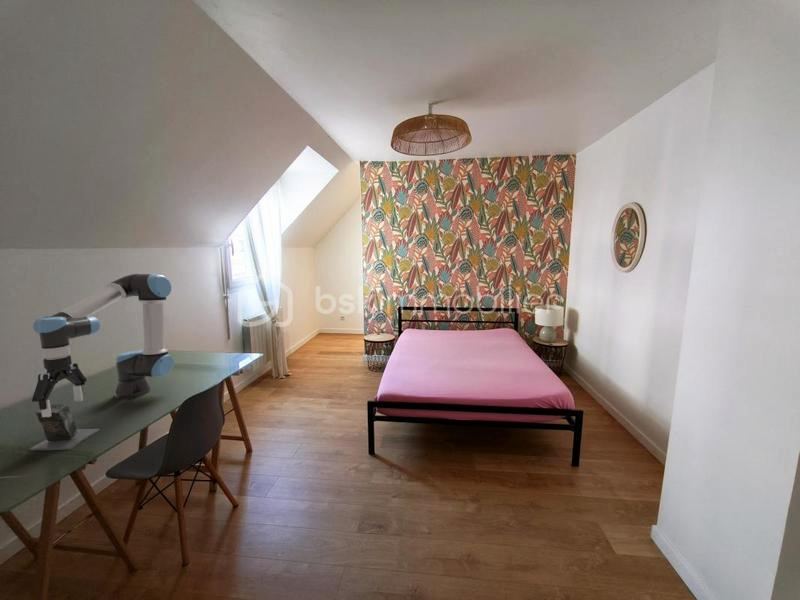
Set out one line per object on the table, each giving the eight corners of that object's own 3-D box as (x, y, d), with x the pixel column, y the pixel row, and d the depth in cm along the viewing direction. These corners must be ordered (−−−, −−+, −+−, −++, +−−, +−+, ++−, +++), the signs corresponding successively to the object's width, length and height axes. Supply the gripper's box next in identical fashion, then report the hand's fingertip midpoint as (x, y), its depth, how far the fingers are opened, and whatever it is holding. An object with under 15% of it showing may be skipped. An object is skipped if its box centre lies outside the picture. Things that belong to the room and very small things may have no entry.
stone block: (71, 441, 130) (82, 431, 135) (59, 412, 125) (71, 403, 129) (47, 442, 129) (59, 432, 134) (33, 412, 124) (46, 403, 129)
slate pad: (64, 431, 139) (64, 429, 139) (99, 430, 140) (99, 428, 140) (30, 450, 125) (29, 448, 125) (69, 449, 126) (69, 447, 126)
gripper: (75, 347, 140) (81, 395, 143) (11, 367, 115) (20, 424, 118) (94, 347, 141) (99, 394, 144) (34, 367, 116) (42, 423, 119)
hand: (63, 408), depth 131 cm, fingers open, 13 cm apart
